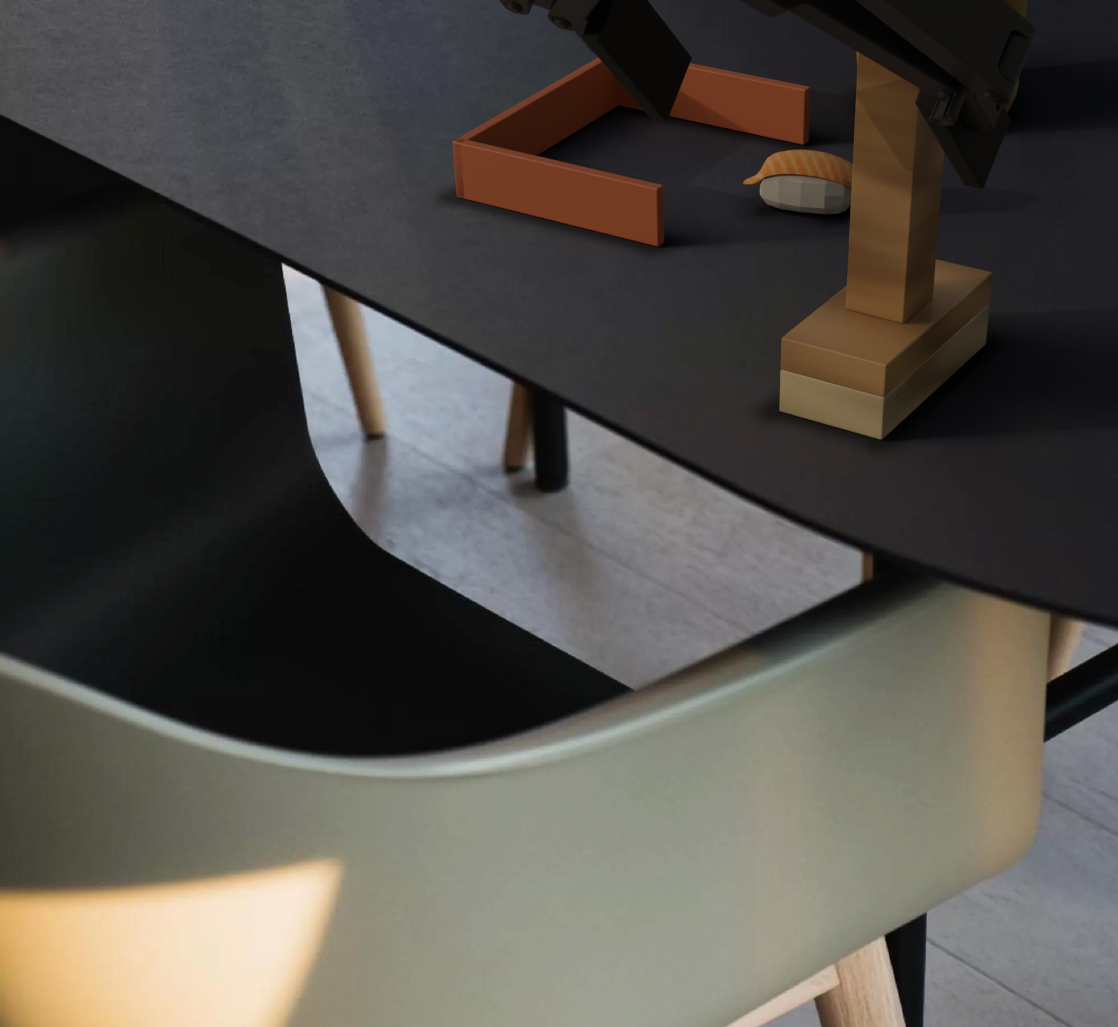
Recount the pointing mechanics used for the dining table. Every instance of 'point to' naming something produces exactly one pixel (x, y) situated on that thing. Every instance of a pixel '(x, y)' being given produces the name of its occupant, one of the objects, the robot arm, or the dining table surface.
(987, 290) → the brown boxy piece
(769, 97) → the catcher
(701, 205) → the dining table surface
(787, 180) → the sushi
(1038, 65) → the dining table surface
